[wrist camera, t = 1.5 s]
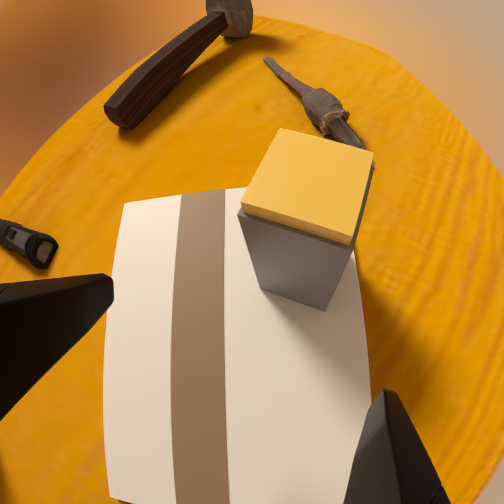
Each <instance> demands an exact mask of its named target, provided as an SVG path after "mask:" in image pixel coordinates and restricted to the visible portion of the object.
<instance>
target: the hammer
mask: <svg viewBox="0 0 504 504" xmlns="http://www.w3.org/2000/svg"><path fill="white" fill-rule="evenodd" d="M206 11H207V16H205V17H204V18H202V19H201V20H199V21H198V22H196V23H195V24H193V25H192V26H190V27H189V28H188V29H187V30H185V31H183V32H182V33H181V34H179V35H178V36H177V37H175V38H174V39H173V40H171V41H170V42H169V43H167V44H166V45H165V46H164V47H162V48H161V49H160V50H159V51H157V52H156V53H155V54H154V55H152V56H151V57H150V58H149V59H148V60H146V61H145V62H144V63H143V64H142V65H141V66H140V67H138V68H137V69H136V70H135V71H134V72H133V73H132V74H131V75H130V76H129V77H128V78H127V79H126V80H125V81H124V83H123V84H122V85H121V86H120V87H119V88H118V89H117V90H116V92H115V93H114V94H113V95H112V96H111V97H110V98H109V100H108V101H107V102H106V103H105V104H104V111H105V114H106V115H107V117H108V118H109V120H110V121H111V122H113V123H114V124H115V125H117V126H121V127H125V128H128V129H134V128H135V127H136V126H137V125H138V124H139V123H140V122H141V121H142V120H143V119H144V118H145V117H146V116H147V115H148V114H149V113H150V111H151V110H152V109H153V108H154V107H155V106H156V105H157V104H158V103H159V102H160V100H161V99H162V98H163V97H164V96H165V95H166V93H167V92H168V91H169V90H170V89H171V87H172V86H173V85H174V84H175V83H176V81H177V80H178V79H179V78H180V77H181V76H182V75H183V73H184V72H185V71H186V70H187V69H188V68H189V67H190V65H191V64H192V63H193V62H194V61H195V60H196V59H197V58H198V57H199V56H200V55H201V54H202V53H203V51H204V50H205V49H206V48H207V47H208V46H209V45H210V44H211V43H212V42H213V41H214V40H215V39H216V38H217V37H218V36H219V35H221V36H224V37H231V38H242V39H244V38H245V37H246V36H247V35H249V33H250V32H251V30H252V23H253V8H252V4H251V0H206Z"/></svg>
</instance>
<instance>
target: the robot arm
mask: <svg viewBox="0 0 504 504" xmlns="http://www.w3.org/2000/svg"><path fill="white" fill-rule="evenodd" d="M113 301H114V282H113V279H112V278H111V277H110V276H108V275H106V274H104V273H100V274H90V275H81V276H71V277H62V278H52V279H42V280H33V281H23V282H13V283H3V284H0V421H1V420H2V419H3V418H4V417H5V415H6V414H7V413H8V412H9V411H10V410H11V409H12V408H13V407H14V406H15V404H16V403H17V402H18V401H19V400H20V399H21V398H22V397H23V396H24V395H25V394H26V393H27V392H28V391H29V390H30V389H31V388H32V387H33V386H34V385H35V384H36V383H37V382H38V381H39V380H40V379H41V378H42V377H43V376H44V375H45V374H46V372H47V371H48V370H49V369H50V368H52V367H53V366H54V365H55V364H56V363H57V362H58V361H59V360H60V359H61V358H62V357H63V356H64V355H65V354H66V353H67V352H68V351H69V350H70V349H71V348H72V347H73V346H74V345H75V344H76V343H77V342H78V341H79V340H80V339H81V338H82V337H83V336H84V335H85V334H86V333H87V332H88V331H89V330H90V329H91V328H92V327H93V326H94V324H95V323H96V322H97V321H98V320H99V319H100V317H101V316H102V315H103V314H104V313H105V312H106V311H107V309H108V308H109V307H110V306H111V305H112V303H113ZM441 485H442V483H441V481H440V479H439V477H438V474H437V472H436V470H435V468H434V466H433V464H432V462H431V459H430V457H429V455H428V453H427V451H426V449H425V447H424V445H423V443H422V441H421V439H420V437H419V435H418V433H417V431H416V429H415V427H414V425H413V423H412V421H411V419H410V417H409V415H408V413H407V411H406V410H405V408H404V406H403V404H402V402H401V400H400V398H399V396H398V394H397V393H396V392H394V391H390V390H387V389H383V390H382V391H381V392H380V393H379V394H378V396H377V397H376V399H375V400H374V402H373V403H372V404H371V406H370V407H369V409H368V412H367V414H366V418H365V422H364V425H363V429H362V432H361V436H360V439H359V442H358V445H357V449H356V452H355V455H354V459H353V463H352V468H351V472H350V477H349V481H348V486H347V490H346V494H345V498H344V502H343V504H451V503H450V500H449V498H448V496H447V494H446V492H445V490H444V487H443V486H441Z"/></svg>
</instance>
